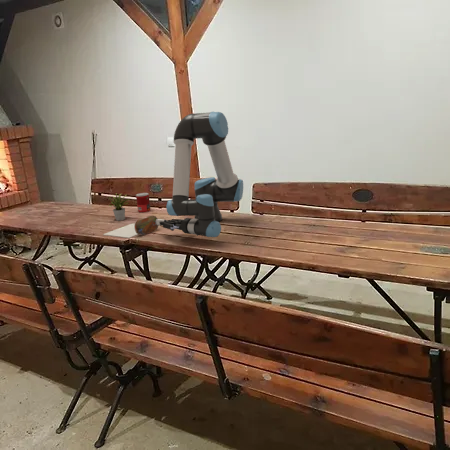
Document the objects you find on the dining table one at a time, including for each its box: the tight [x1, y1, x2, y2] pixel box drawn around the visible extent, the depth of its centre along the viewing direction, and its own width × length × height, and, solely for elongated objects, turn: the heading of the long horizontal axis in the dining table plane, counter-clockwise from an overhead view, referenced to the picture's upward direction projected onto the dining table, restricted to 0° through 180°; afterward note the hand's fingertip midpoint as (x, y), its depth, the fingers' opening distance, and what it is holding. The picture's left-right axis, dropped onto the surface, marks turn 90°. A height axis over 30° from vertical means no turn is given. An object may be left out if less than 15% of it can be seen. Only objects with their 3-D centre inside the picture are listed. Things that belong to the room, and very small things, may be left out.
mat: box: [102, 223, 139, 239], centre depth 244 cm, size 19×22×1 cm
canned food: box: [135, 192, 152, 213], centre depth 287 cm, size 8×8×11 cm
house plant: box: [107, 192, 131, 221], centre depth 269 cm, size 14×14×16 cm
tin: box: [134, 215, 159, 236], centre depth 237 cm, size 15×3×8 cm, turn 143°
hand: (157, 221), depth 231 cm, fingers closed
